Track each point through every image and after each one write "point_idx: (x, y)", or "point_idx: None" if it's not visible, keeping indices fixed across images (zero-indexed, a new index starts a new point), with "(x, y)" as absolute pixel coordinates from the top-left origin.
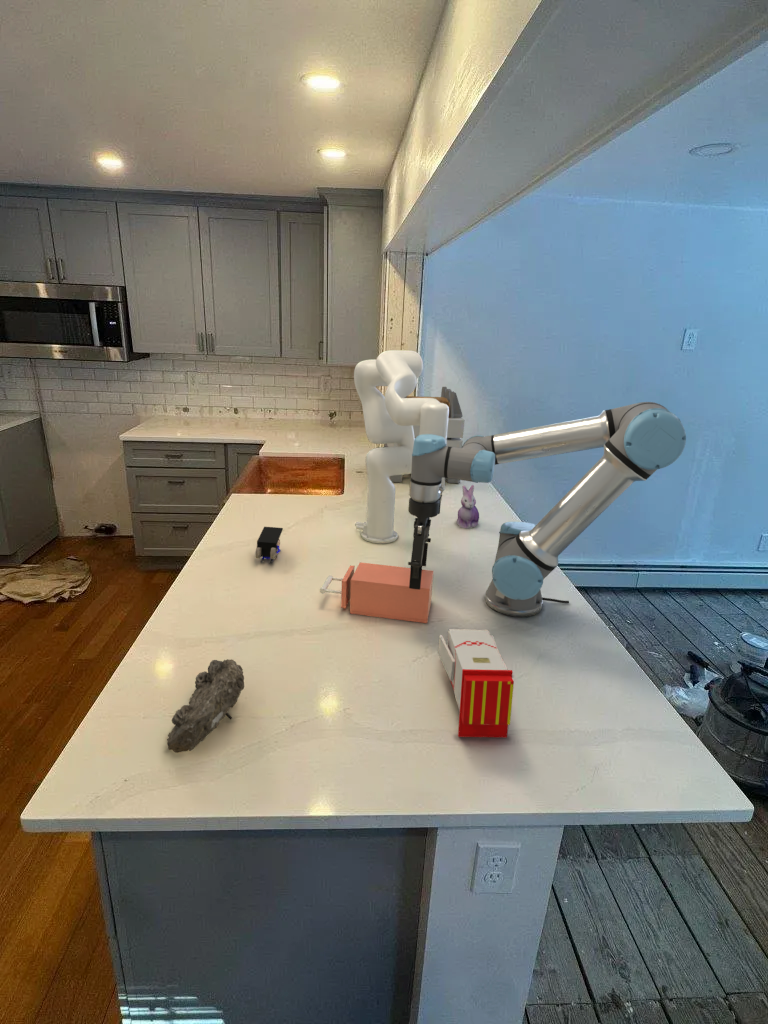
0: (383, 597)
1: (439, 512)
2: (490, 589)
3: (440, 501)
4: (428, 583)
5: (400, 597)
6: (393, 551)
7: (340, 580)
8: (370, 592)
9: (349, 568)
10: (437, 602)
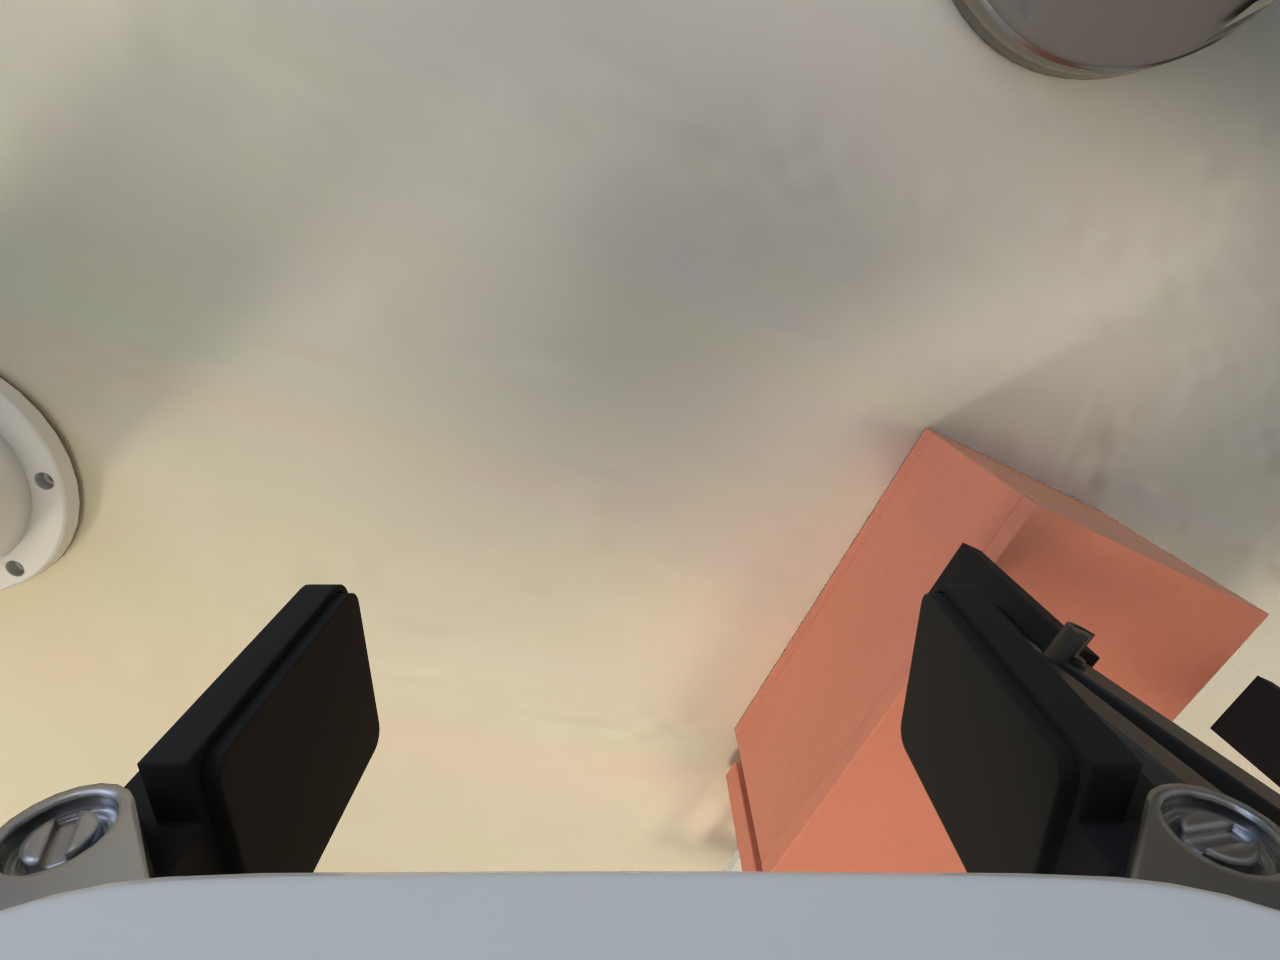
0: None
1: (980, 598)
2: (1133, 28)
3: (1116, 745)
4: (1199, 599)
5: None
6: (204, 440)
7: (740, 867)
8: None
9: None
10: (928, 388)
